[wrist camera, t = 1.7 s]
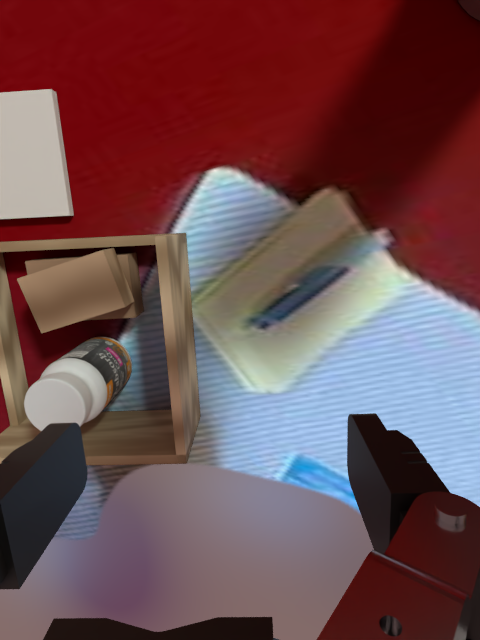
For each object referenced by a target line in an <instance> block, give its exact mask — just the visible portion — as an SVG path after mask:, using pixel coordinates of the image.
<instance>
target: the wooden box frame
mask: <svg viewBox="0 0 480 640" xmlns="http://www.w3.org/2000/svg"><path fill="white" fill-rule="evenodd" d="M142 245H156V254H157V265H158V275H159V285H160V295H161V306H162V316H163V326H164V336H165V347H166V357H167V367H168V378H169V388H170V398H171V408H172V410H143V411H103V412H101V413H100V414H99V415H98V416H97V417H95V418H94V419H92V420H91V421H88V422H86V423H84V424H83V425H82V426H81V427H80V429H81V434H82V440H83V447H84V453H85V459H86V465H129V464H185V463H187V461H188V457H189V454H190V450H191V447H192V444H193V440H194V437H195V433H196V430H197V427H198V423H199V420H200V404H199V391H198V379H197V366H196V353H195V340H194V328H193V315H192V302H191V290H190V277H189V264H188V252H187V239H186V233H177V234H157V235H136V236H116V237H95V238H75V239H54V240H34V241H13V242H0V377H1V382H2V387H3V391H4V396H5V401H6V406H7V411H8V416H9V421H10V426H9V427H8V428H7V429H6V430H5V431H3V432H2V433H1V434H0V464H1V463H2V461H3V460H4V459H5V458H6V457H7V456H8V455H9V454H10V453H11V452H12V451H14V450H15V449H17V448H19V447H20V446H22V445H24V444H26V443H27V442H29V441H32V440H33V439H34V438H35V437H36V436H37V435H38V434H39V433H40V432H41V431H40V430H39V429H37V428H36V427H35V426H34V425H33V424H32V423H31V422H30V420H29V419H28V417H27V415H26V412H25V408H24V399H25V395H26V393H27V391H28V385H27V379H26V374H25V369H24V364H23V358H22V353H21V348H20V342H19V337H18V332H17V326H16V321H15V316H14V311H13V305H12V300H11V295H10V289H9V284H8V279H7V273H6V268H5V263H4V258H3V252H15V251H36V250H57V249H78V248H99V247H120V246H142Z"/></svg>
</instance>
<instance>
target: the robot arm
mask: <svg viewBox="0 0 480 640" xmlns="http://www.w3.org/2000/svg"><path fill="white" fill-rule="evenodd" d="M458 2H459V4H460V5H461V7H462V8H463V9H464V10H465V11H466V12H467V13H468V14H469V15H471V16H472V17H474V18H475V19H477V20H479V21H480V0H458ZM347 466H348V475H349V481H350V485H351V488H352V491H353V493H354V496H355V499H356V502H357V504H358V507H359V510H360V512H361V515H362V518H363V521H364V523H365V526H366V529H367V531H368V534H369V537H370V540H371V542H372V545H373V548H374V550H372V551H371V552H370V553H369V554H368V556H367V557H366V559H365V561H364V562H363V564H362V566H361V567H360V569H359V571H358V572H357V574H356V576H355V577H354V579H353V580H352V582H351V584H350V585H349V587H348V589H347V590H346V592H345V594H344V595H343V597H342V599H341V600H340V602H339V604H338V605H337V607H336V609H335V610H334V612H333V613H332V615H331V617H330V619H329V620H328V622H327V623H326V625H325V627H324V628H323V630H322V632H321V633H320V635H319V637H318V638H317V640H480V507H479V506H477V505H476V504H474V503H473V502H471V501H470V500H468V499H466V498H463V497H461V496H458V495H455V494H452V493H450V492H449V490H448V489H447V488H446V486H445V485H444V484H443V482H442V481H441V479H440V478H439V477H438V475H437V474H436V473H435V471H434V470H433V468H432V467H431V466H430V464H429V463H427V460H426V459H425V458H424V456H423V455H422V453H420V451H419V449H418V448H417V447H416V445H415V444H414V442H413V441H412V440H411V439H410V438H408V437H407V436H405V435H403V434H402V433H400V432H399V431H397V430H388V431H387V430H386V428H385V427H384V425H383V424H382V422H381V420H380V419H379V417H378V416H377V414H350V415H349V417H348V448H347ZM86 481H87V465H86V459H85V453H84V447H83V440H82V434H81V429H80V426H79V425H78V424H77V423H51V424H49V425H47V426H46V427H45V428H44V429H43V430H42V431H41V432H40V433H39V434H38V435H37V436H36V437H35V438H34V439H33V440H32V441H29V442H27V443H26V444H24V445H22V446H20V447H19V448H17V449H15V450H14V451H12V452H11V453H10V454H9V455H8V456H7V457H6V458H5V459H4V460H3V461H2V463H1V464H0V589H20V587H21V586H22V584H23V583H24V581H25V580H26V578H27V577H28V575H29V573H30V572H31V570H32V569H33V567H34V566H35V564H36V563H37V561H38V560H39V558H40V557H41V555H42V554H43V552H44V550H45V549H46V547H47V546H48V544H49V543H50V541H51V540H52V538H53V537H54V535H55V534H56V532H57V531H58V529H59V527H60V526H61V524H62V523H63V521H64V520H65V518H66V517H67V515H68V514H69V512H70V511H71V509H72V508H73V506H74V504H75V503H76V501H77V500H78V498H79V497H80V495H81V494H82V492H83V490H84V488H85V485H86ZM43 640H279V639H275V638H273V624H272V617H221V618H219V617H218V618H214V619H210V620H206V621H202V622H198V623H195V624H190V625H187V626H183V627H179V628H175V629H172V630H167V631H163V632H153V631H149V630H146V629H142V628H139V627H135V626H132V625H128V624H125V623H121V622H118V621H114V620H111V619H107V618H76V619H54V620H53V621H52V623H51V625H50V627H49V629H48V631H47V634H46V635H45V637H44V639H43Z"/></svg>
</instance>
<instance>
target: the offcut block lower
mask: <svg viewBox="0 0 480 640" xmlns="http://www.w3.org/2000/svg"><path fill="white" fill-rule="evenodd" d="M116 255H117V257H118V260H119V262H120V265H121V268H122V270H123V273H124V275H125V278H126V280H127V283H128V286H129V288H130V291H131V293H132V296H133V299H134V302H132V303H131V304H129V305H128V306H126V307H124V308H121V309H117V310H114V311H111V312H108V313H105V314H102V315H99V316H95V317H92V318H89V319H86V320H101V319H119V318H136V317H137V316H138V315H140V314H141V313H142V312H143V311H144V308H143V300H142V292H141V284H140V277H139V269H138V261H137V253H136V252H135V253H119V254H116ZM80 257H83V256H73V257H58V258H43V259H36V260H30V261H25V264H26V270H27V275H30V274H33V273H36V272H39V271H42V270H45V269H48V268H50V267H53V266H56V265H59V264H62V263H65V262H68V261H71V260H74V259H77V258H80Z"/></svg>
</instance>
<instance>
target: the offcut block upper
mask: <svg viewBox="0 0 480 640" xmlns="http://www.w3.org/2000/svg"><path fill="white" fill-rule="evenodd" d="M17 280H18V283H19V285H20V287H21V289H22V292H23V294H24V296H25V298H26V300H27V303H28V305H29V307H30V309H31V312H32V314H33V316H34V318H35V321H36V323H37V325H38V327H39V329H40V332H41V334H42V333H45V332H48V331H51V330H54V329H57V328H61V327H64V326H67V325H70V324H73V323H76V322H80V321H83V320H86V319H89V318H92V317H95V316H99V315H102V314H105V313H108V312H111V311H114V310H117V309H121V308H124V307H126V306H128V305H129V304H131V303H132V302H134V299H133V296H132V293H131V291H130V288H129V286H128V283H127V280H126V278H125V275H124V273H123V270H122V268H121V265H120V262H119V260H118V257H117V255H116V252H115V249H114V248H111V249H105V250H101V251H98V252H95V253H92V254H89V255H86V256H83V257H80V258H77V259H74V260H71V261H68V262H65V263H62V264H59V265H56V266H53V267H50V268H48V269H45V270H42V271H39V272H36V273H33V274H30V275H27V276H24V277H21V278H18V279H17Z"/></svg>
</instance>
